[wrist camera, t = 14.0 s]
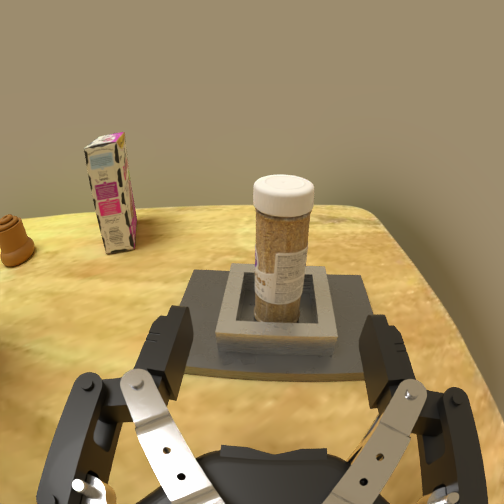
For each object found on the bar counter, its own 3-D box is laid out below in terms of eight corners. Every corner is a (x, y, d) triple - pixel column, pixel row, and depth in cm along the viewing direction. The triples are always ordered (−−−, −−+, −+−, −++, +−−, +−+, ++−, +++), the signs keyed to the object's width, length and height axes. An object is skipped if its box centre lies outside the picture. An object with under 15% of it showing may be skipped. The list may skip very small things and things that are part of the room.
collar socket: (161, 370, 24) (151, 343, 22) (195, 277, 36) (191, 251, 34) (384, 378, 23) (398, 352, 21) (358, 283, 34) (364, 257, 32)
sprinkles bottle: (248, 304, 30) (246, 174, 23) (290, 297, 31) (300, 171, 24) (261, 337, 26) (263, 194, 19) (307, 326, 27) (325, 189, 20)
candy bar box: (137, 250, 42) (117, 140, 33) (106, 255, 40) (81, 148, 32) (139, 219, 51) (125, 130, 42) (113, 224, 49) (96, 136, 41)
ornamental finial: (-1, 261, 39) (28, 242, 45) (10, 273, 36) (41, 251, 42) (-16, 223, 35) (15, 205, 40) (-7, 231, 32) (28, 210, 38)
